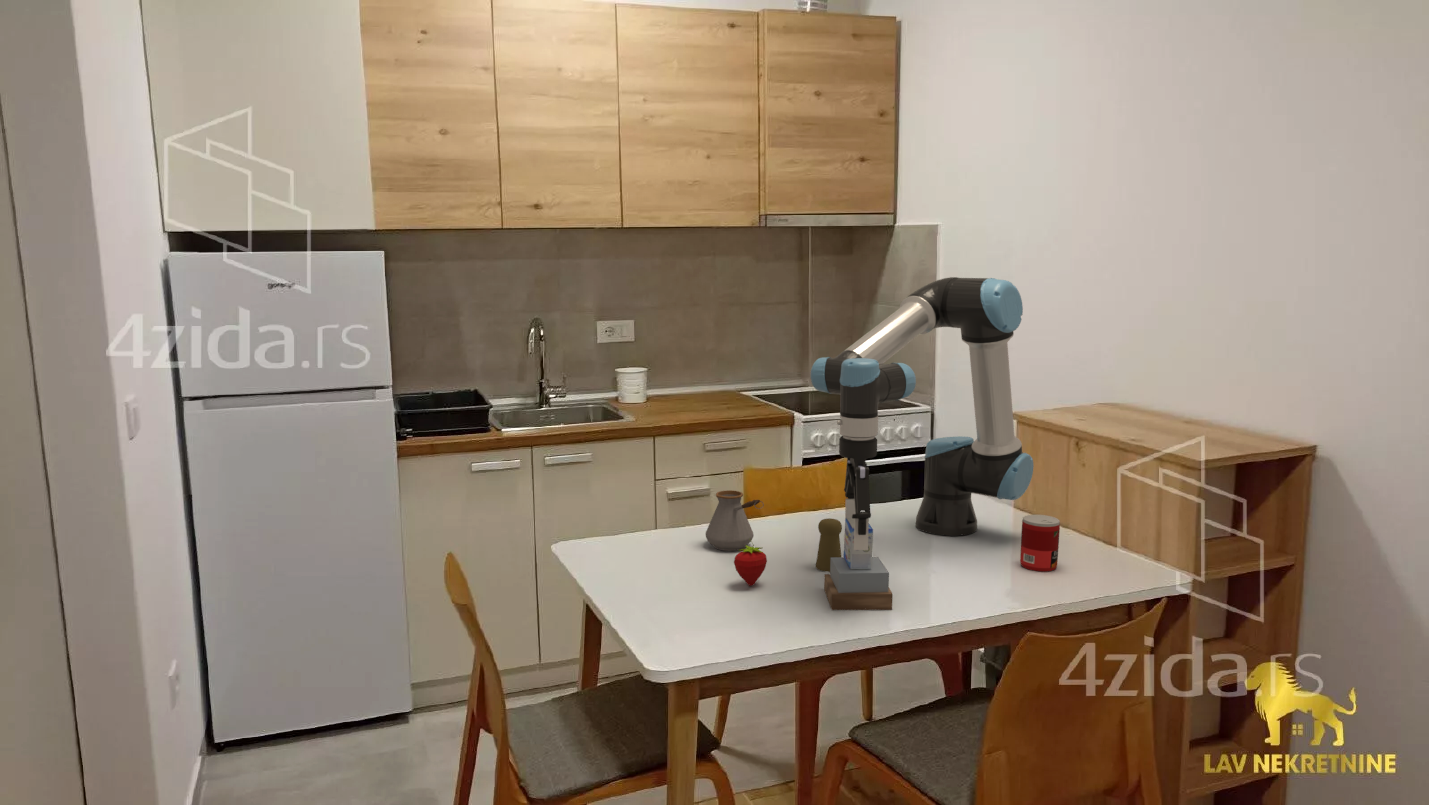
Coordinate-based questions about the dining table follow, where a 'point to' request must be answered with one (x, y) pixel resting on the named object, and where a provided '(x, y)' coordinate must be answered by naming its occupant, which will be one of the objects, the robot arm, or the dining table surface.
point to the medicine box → (857, 557)
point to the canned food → (1039, 542)
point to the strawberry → (750, 564)
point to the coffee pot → (730, 522)
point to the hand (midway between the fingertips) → (856, 539)
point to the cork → (828, 543)
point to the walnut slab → (856, 598)
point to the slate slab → (859, 577)
